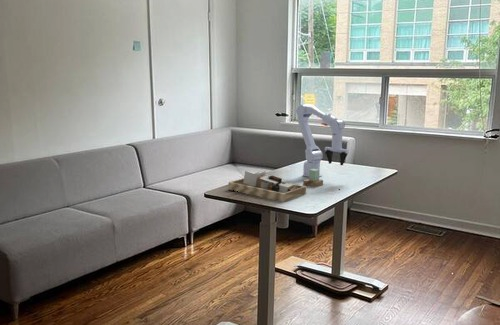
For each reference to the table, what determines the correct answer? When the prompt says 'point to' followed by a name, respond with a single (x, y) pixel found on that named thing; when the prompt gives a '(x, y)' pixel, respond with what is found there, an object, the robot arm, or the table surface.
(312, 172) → the green block
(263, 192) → the tray
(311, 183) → the walnut plinth
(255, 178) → the toy
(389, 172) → the table surface
